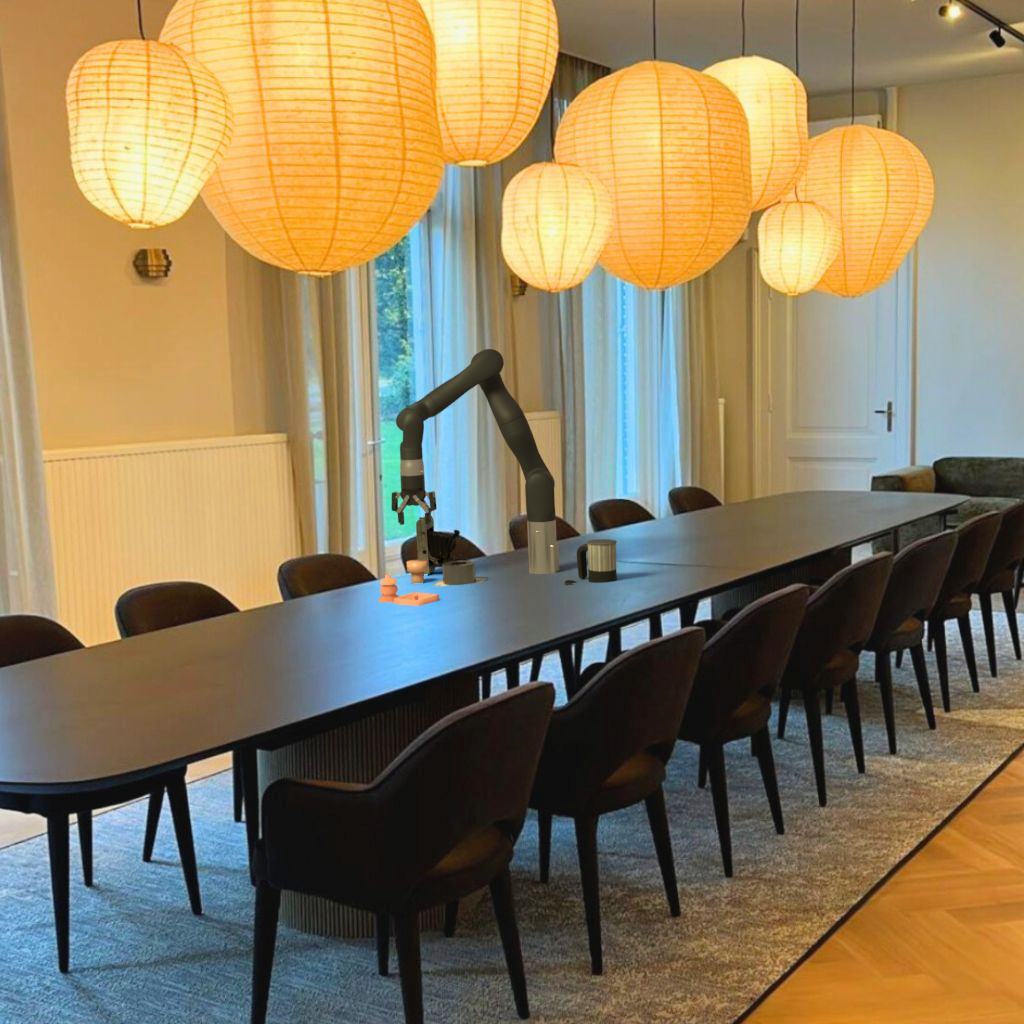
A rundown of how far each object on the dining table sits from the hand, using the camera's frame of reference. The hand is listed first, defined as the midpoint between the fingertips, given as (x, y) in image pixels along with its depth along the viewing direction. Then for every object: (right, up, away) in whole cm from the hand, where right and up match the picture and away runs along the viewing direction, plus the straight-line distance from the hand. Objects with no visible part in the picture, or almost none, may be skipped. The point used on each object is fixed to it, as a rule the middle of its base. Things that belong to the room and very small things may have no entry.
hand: (414, 524), depth 415 cm
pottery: (0, -25, -31) cm, 40 cm away
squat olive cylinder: (+14, -18, -2) cm, 23 cm away
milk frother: (+55, -20, -16) cm, 61 cm away
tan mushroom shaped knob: (+1, -20, +3) cm, 20 cm away
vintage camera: (+8, -17, +21) cm, 28 cm away
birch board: (+14, -20, -1) cm, 24 cm away
